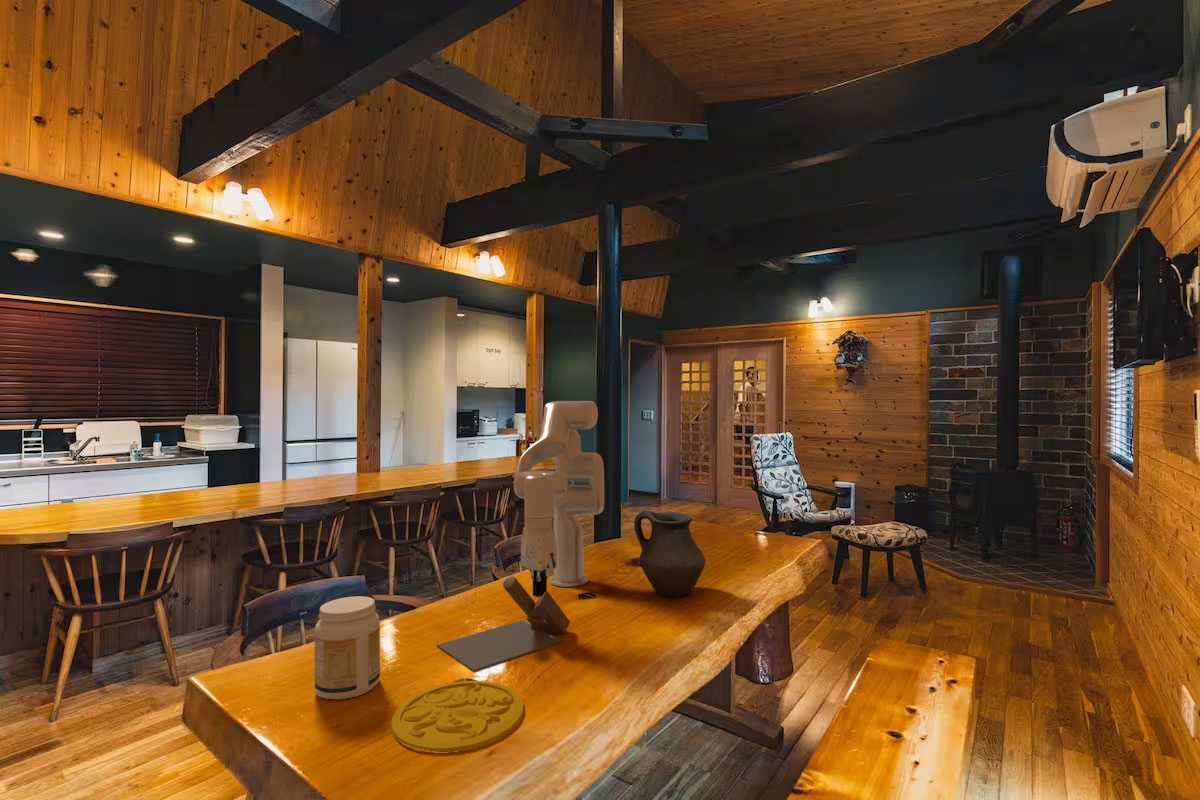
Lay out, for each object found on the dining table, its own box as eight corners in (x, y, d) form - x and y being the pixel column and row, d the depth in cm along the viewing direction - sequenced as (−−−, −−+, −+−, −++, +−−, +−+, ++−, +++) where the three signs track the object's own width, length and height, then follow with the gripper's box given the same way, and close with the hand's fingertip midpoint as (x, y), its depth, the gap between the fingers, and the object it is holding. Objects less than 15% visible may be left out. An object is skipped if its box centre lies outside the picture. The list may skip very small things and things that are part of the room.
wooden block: (564, 634, 143) (533, 595, 133) (531, 626, 149) (499, 587, 139) (571, 621, 145) (540, 581, 135) (538, 613, 151) (506, 574, 141)
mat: (436, 646, 136) (436, 644, 136) (521, 621, 152) (521, 620, 152) (473, 672, 122) (473, 670, 122) (562, 641, 138) (562, 640, 138)
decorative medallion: (445, 679, 120) (445, 669, 120) (545, 698, 112) (545, 688, 112) (361, 738, 98) (361, 727, 98) (477, 768, 90) (477, 756, 90)
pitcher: (704, 605, 163) (703, 518, 164) (629, 601, 167) (629, 516, 168) (706, 584, 183) (705, 506, 184) (639, 581, 187) (638, 505, 188)
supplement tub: (361, 668, 124) (361, 590, 125) (391, 685, 117) (391, 601, 117) (303, 690, 115) (303, 605, 115) (331, 709, 107) (332, 618, 108)
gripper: (511, 521, 148) (511, 591, 148) (544, 529, 137) (544, 606, 137) (534, 517, 153) (535, 585, 153) (569, 525, 142) (569, 599, 142)
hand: (539, 595), depth 145 cm, fingers closed
